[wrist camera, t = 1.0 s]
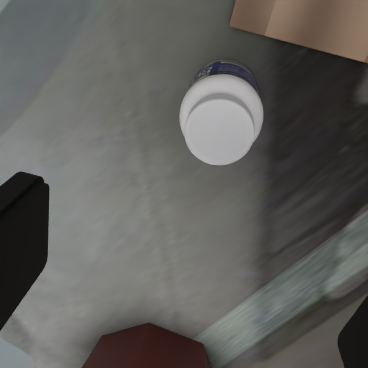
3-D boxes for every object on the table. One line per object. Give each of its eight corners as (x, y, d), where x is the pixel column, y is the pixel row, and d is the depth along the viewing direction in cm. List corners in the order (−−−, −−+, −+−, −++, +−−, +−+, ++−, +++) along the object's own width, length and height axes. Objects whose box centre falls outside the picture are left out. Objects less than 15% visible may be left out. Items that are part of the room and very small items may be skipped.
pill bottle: (205, 47, 26) (192, 68, 17) (268, 74, 26) (286, 108, 17) (181, 110, 28) (159, 156, 20) (238, 134, 29) (241, 189, 20)
